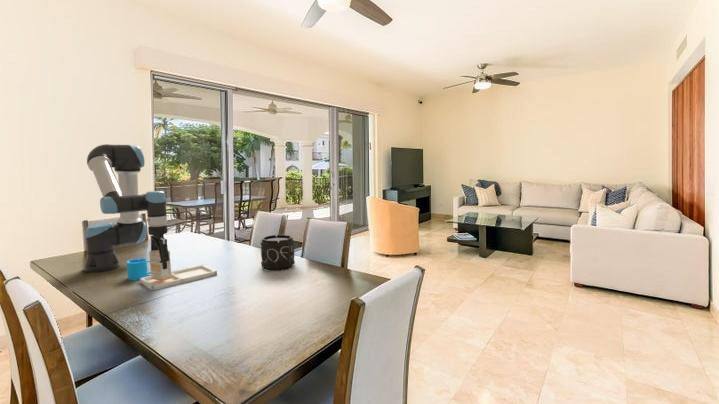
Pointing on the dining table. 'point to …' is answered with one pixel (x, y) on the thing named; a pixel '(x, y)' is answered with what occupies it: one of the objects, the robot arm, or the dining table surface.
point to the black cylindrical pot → (277, 252)
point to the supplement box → (158, 266)
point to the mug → (137, 269)
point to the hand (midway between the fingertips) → (160, 273)
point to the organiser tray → (179, 277)
